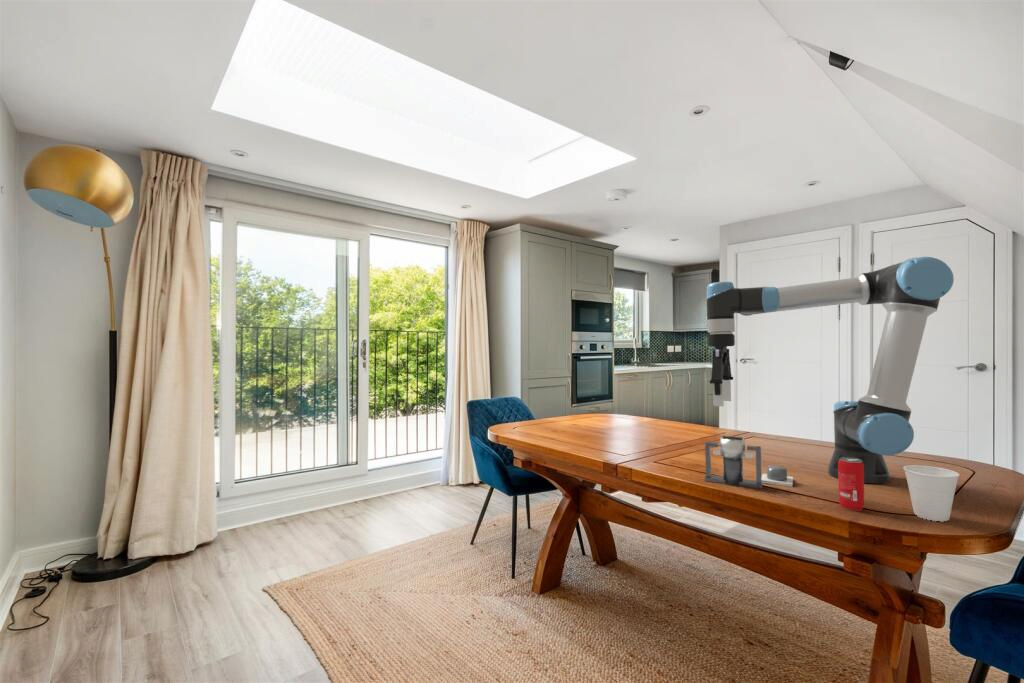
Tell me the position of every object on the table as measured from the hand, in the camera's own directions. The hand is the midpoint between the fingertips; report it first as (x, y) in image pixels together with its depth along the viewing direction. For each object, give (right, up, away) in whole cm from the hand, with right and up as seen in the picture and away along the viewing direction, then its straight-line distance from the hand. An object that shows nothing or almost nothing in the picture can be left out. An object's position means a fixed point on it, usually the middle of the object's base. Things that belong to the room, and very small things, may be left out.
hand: (722, 403), depth 142 cm
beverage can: (+21, -23, -25) cm, 40 cm away
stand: (+15, -23, -2) cm, 28 cm away
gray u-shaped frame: (+2, -23, -3) cm, 23 cm away
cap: (+2, -15, -3) cm, 16 cm away
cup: (+35, -23, -32) cm, 52 cm away
